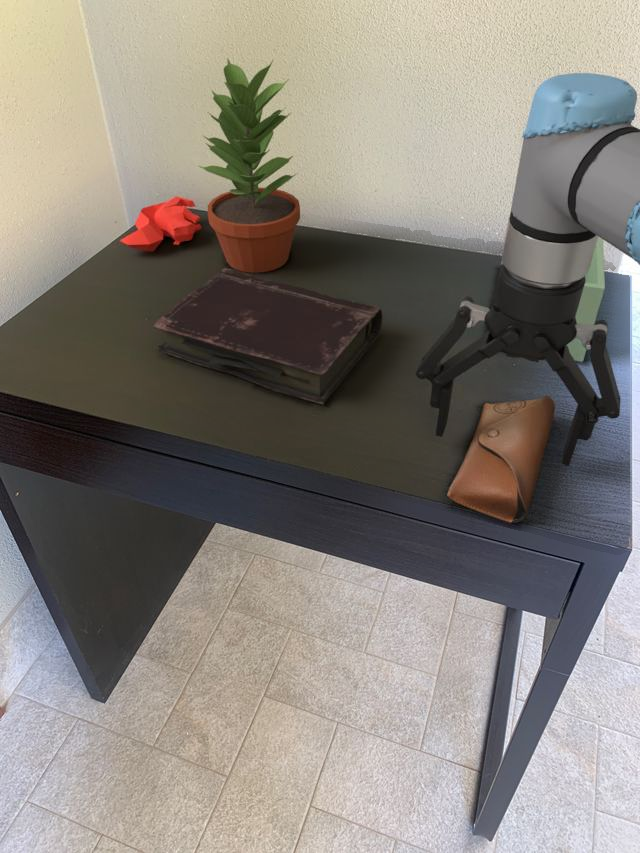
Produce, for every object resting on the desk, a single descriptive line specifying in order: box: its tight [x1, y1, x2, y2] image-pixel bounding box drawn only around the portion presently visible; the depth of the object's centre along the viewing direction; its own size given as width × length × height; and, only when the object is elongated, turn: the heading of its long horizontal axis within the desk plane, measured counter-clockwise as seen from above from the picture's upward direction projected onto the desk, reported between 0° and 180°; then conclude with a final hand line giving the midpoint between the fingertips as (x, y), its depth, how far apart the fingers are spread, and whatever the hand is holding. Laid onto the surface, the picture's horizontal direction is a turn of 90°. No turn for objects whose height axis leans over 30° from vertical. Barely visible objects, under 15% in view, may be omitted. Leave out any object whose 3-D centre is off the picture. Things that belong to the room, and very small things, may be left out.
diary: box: [152, 267, 383, 406], centre depth 92 cm, size 19×25×5 cm
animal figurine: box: [119, 196, 202, 252], centre depth 116 cm, size 12×15×5 cm
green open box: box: [500, 236, 606, 363], centre depth 96 cm, size 23×13×11 cm, turn 164°
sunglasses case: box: [446, 395, 556, 524], centre depth 75 cm, size 18×7×7 cm
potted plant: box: [198, 57, 301, 274], centre depth 102 cm, size 15×15×30 cm
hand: (502, 442), depth 75 cm, fingers open, 13 cm apart
